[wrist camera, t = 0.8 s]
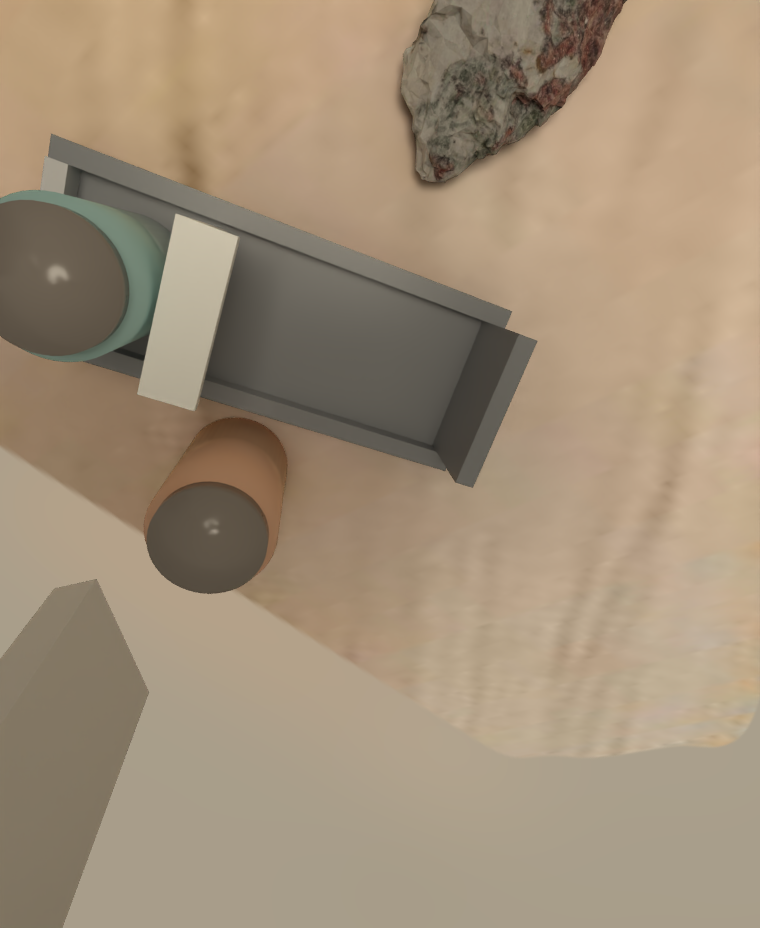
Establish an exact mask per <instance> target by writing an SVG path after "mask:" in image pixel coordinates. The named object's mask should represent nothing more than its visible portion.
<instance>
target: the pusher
mask: <svg viewBox="0 0 760 928" xmlns="http://www.w3.org/2000/svg"><path fill="white" fill-rule="evenodd" d="M239 240H240V237H238V236H235V235H233V234H230V233H227V231H226V230H223V229H221V228H218V227H215V226H213V225H210V224H207V223H204V222H200V221H197V220H194V219H191V218H188V217H185V216H182V215H179V214H175V219H174V224H173V228H172V233H171V238H170V242H169V247H168V252H167V256H166V261H165V266H164V270H163V275H162V280H161V285H160V289H159V294H158V299H157V303H156V308H155V313H154V317H153V322H152V327H151V331H150V336H149V341H148V346H147V350H146V355H145V360H144V364H143V369H142V374H141V378H140V383H139V388H138V392H137V395H141V396H144V397H147V398H151V399H154V400H158V401H161V402H164V403H168V404H171V405H174V406H178V407H181V408H185V409H188V410H191V411H195V410H196V409H197V407H198V403H199V399H200V395H201V391H202V387H203V383H204V380H205V376H206V372H207V368H208V364H209V360H210V356H211V352H212V348H213V344H214V340H215V336H216V332H217V328H218V324H219V320H220V316H221V312H222V308H223V304H224V300H225V296H226V292H227V288H228V284H229V280H230V276H231V272H232V268H233V264H234V260H235V256H236V252H237V248H238V244H239Z"/></svg>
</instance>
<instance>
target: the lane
mask: <svg viewBox="0 0 760 928" xmlns="http://www.w3.org/2000/svg"><path fill="white" fill-rule="evenodd" d="M40 190H45V191H51V192H57V193H61V194H65V195H69V196H73V197H76V198H80V199H84V200H88V201H92V202H96V203H100V204H104V205H107V206H111V207H115V208H119V209H123V210H127V211H131V212H135V213H138V214H142V215H145V216H147V217H149V218H152V219H153V220H155V221H157V222H159V223H160V224H161V225H163V226H164V227H165V228H167V229H168V230H169V231H170V232H171V233H172V228H173V224H174V219H175V214H179V215H182V216H185V217H188V218H191V219H194V220H197V221H200V222H204V223H207V224H210V225H213V226H215V227H218V228H221V229H223V230H226V231H227V233H230V234H233V235H235V236H238V237H240V240H239V244H238V248H237V252H236V256H235V260H234V264H233V268H232V272H231V276H230V280H229V284H228V288H227V292H226V296H225V300H224V304H223V308H222V312H221V316H220V320H219V324H218V328H217V332H216V336H215V340H214V344H213V348H212V352H211V356H210V360H209V364H208V368H207V372H206V376H205V380H204V383H203V387H202V391H201V395H200V397H202V398H206V399H209V400H212V401H216V402H219V403H222V404H225V405H229V406H232V407H235V408H239V409H242V410H245V411H249V412H252V413H255V414H258V415H262V416H265V417H268V418H272V419H275V420H278V421H282V422H285V423H288V424H291V425H295V426H298V427H301V428H305V429H308V430H311V431H315V432H318V433H321V434H325V435H328V436H331V437H334V438H338V439H341V440H344V441H348V442H351V443H354V444H358V445H361V446H364V447H367V448H371V449H374V450H377V451H381V452H384V453H387V454H391V455H394V456H397V457H400V458H404V459H407V460H410V461H414V462H417V463H420V464H424V465H427V466H430V467H433V468H437V469H440V470H443V471H445V470H446V468H447V470H448V471H449V473H450V475H451V476H452V478H453V479H454V481H455V483H459V484H462V485H465V486H469V487H472V488H473V486H474V484H475V482H476V479H477V477H478V475H479V472H480V470H481V468H482V466H483V463H484V461H485V459H486V457H487V454H488V452H489V450H490V448H491V445H492V443H493V441H494V438H495V436H496V434H497V432H498V429H499V427H500V425H501V423H502V420H503V418H504V416H505V413H506V411H507V409H508V407H509V404H510V402H511V400H512V398H513V395H514V393H515V391H516V389H517V386H518V384H519V382H520V379H521V377H522V375H523V373H524V370H525V368H526V366H527V364H528V361H529V359H530V357H531V355H532V352H533V350H534V348H535V345H536V343H537V341H536V340H534V339H531V338H528V337H526V336H523V335H520V334H518V333H515V332H512V331H510V330H507V329H505V327H506V325H507V322H508V320H509V318H510V315H511V313H512V311H510V310H507V309H504V308H502V307H499V306H497V305H494V304H491V303H489V302H486V301H484V300H481V299H478V298H476V297H473V296H471V295H468V294H465V293H463V292H460V291H458V290H455V289H453V288H450V287H447V286H445V285H442V284H440V283H437V282H434V281H432V280H429V279H427V278H424V277H421V276H419V275H416V274H414V273H411V272H408V271H406V270H403V269H401V268H398V267H395V266H393V265H390V264H388V263H385V262H382V261H380V260H377V259H375V258H372V257H370V256H367V255H364V254H362V253H359V252H357V251H354V250H351V249H349V248H346V247H344V246H341V245H338V244H336V243H333V242H331V241H328V240H325V239H323V238H320V237H318V236H315V235H312V234H310V233H307V232H305V231H302V230H300V229H297V228H294V227H292V226H289V225H287V224H284V223H281V222H279V221H276V220H274V219H271V218H268V217H266V216H263V215H261V214H258V213H255V212H253V211H250V210H248V209H245V208H242V207H240V206H237V205H235V204H232V203H230V202H227V201H224V200H222V199H219V198H217V197H214V196H211V195H209V194H206V193H204V192H201V191H198V190H196V189H193V188H191V187H188V186H185V185H183V184H180V183H178V182H175V181H172V180H170V179H167V178H165V177H162V176H159V175H157V174H154V173H152V172H149V171H147V170H144V169H141V168H139V167H136V166H134V165H131V164H128V163H126V162H123V161H121V160H118V159H115V158H113V157H110V156H108V155H105V154H102V153H100V152H97V151H95V150H92V149H89V148H87V147H84V146H82V145H79V144H76V143H74V142H71V141H69V140H66V139H64V138H61V137H58V136H56V135H53V134H51V139H50V146H49V153H48V157H47V156H45V159H44V166H43V173H42V181H41V188H40ZM149 336H150V334H149V335H146V336H144V337H142V338H140V339H138V340H135V341H133V342H131V343H129V344H126V345H124V346H122V347H120V348H117V349H115V350H113V351H111V352H108V353H106V354H104V355H102V356H99V357H97V358H94V359H90V360H86V361H83V362H87V363H90V364H93V365H97V366H100V367H103V368H107V369H110V370H113V371H116V372H120V373H123V374H126V375H130V376H133V377H136V378H141V374H142V369H143V364H144V360H145V355H146V350H147V346H148V341H149Z"/></svg>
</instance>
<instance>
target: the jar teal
mask: <svg viewBox="0 0 760 928" xmlns="http://www.w3.org/2000/svg"><path fill="white" fill-rule="evenodd" d="M170 238H171V232H170V231H169V230H168V229H167V228H165V227H164V226H163V225H161V224H160V223H159V222H157V221H155V220H153V219H152V218H149V217H147V216H145V215H142V214H138V213H135V212H131V211H127V210H123V209H119V208H115V207H111V206H107V205H104V204H100V203H96V202H92V201H88V200H84V199H80V198H76V197H73V196H69V195H65V194H61V193H57V192H51V191H45V190H27V191H20V192H16V193H12V194H9V195H7V196H4V197H2V198H0V336H1V337H2V338H4V339H5V340H7V341H9V342H10V343H12V344H14V345H16V346H18V347H20V348H21V349H23V350H25V351H27V352H29V353H31V354H34V355H36V356H39V357H42V358H45V359H50V360H54V361H62V362H79V361H86V360H90V359H94V358H97V357H99V356H102V355H104V354H106V353H108V352H111V351H113V350H115V349H117V348H120V347H122V346H124V345H126V344H129V343H131V342H133V341H135V340H138V339H140V338H142V337H144V336H146V335H149V334H150V331H151V327H152V322H153V317H154V313H155V308H156V303H157V299H158V294H159V289H160V285H161V280H162V275H163V270H164V266H165V261H166V256H167V252H168V247H169V242H170Z"/></svg>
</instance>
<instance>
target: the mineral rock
mask: <svg viewBox="0 0 760 928" xmlns="http://www.w3.org/2000/svg"><path fill="white" fill-rule="evenodd" d="M626 1H627V0H434V2H433V4H432V6H431V9H430V11H429V14H428V16H427V19H425V20H424V21H423V23H422V24H421V25H420V29H419V34H418V38H417V40H416V41H415V42H413V44H412V47H410V48H407V49H406V50H405V52H404V53H403V64H404V72H403V77H402V83H401V94H402V95H403V97H404V100H405V102H406V104H407V106H408V108H409V110H410V112H411V114H412V116H413V122H412V131H413V132H414V135H415V139H416V150H417V151H416V166H415V167H416V170H417V171H418V173H419V174H420V176H421V179H423V180H426V181H428V182H445V181H447V180H449V179H451V178H453V177H456V176H458V175H459V174H460V173H461V172H462V171H464V170H465V169H466V168H467V167H468V166H469V165H470V164H471V163H472V162H473V161H474V160H476V159H482V158H485V156H486V155H494V154H497V152H498V151H499V149H500V148H501V146H503V145H505V144H510V143H512V142H516V141H519V140H520V139H521V138H523V137H524V136H525V134H526V133H527V132H528V131H529V130H530V129H531V128H532V127H534V126H535V125H537V126H539V127H541V126H542V125H543V124H544V123H545V122H546V121H547V119H548V118H549V116H550V115H552V114H553V113H554V112H556V111H557V110H559V109H560V108H562V107H563V105H564V104H565V102H566V98H567V96H569V95H570V94H571V93H572V92H573V91H574V90H575V89H576V88H577V86H578V84H579V82H580V81H581V80H582V79H583V77H584V76H585V75H586V74H587V72H588V71H589V70H590V69H591V67H592V66H594V65H595V64H596V62H597V60H598V58H599V57H600V55H601V53H602V50H603V47H604V44H605V41H606V38H607V34H608V32H609V30H610V28H611V26H612V24H613V22H614V20H615V18H616V16H617V15H618V14H619V13H620V12H621V9H622V7H623V4H624V3H625V2H626Z"/></svg>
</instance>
